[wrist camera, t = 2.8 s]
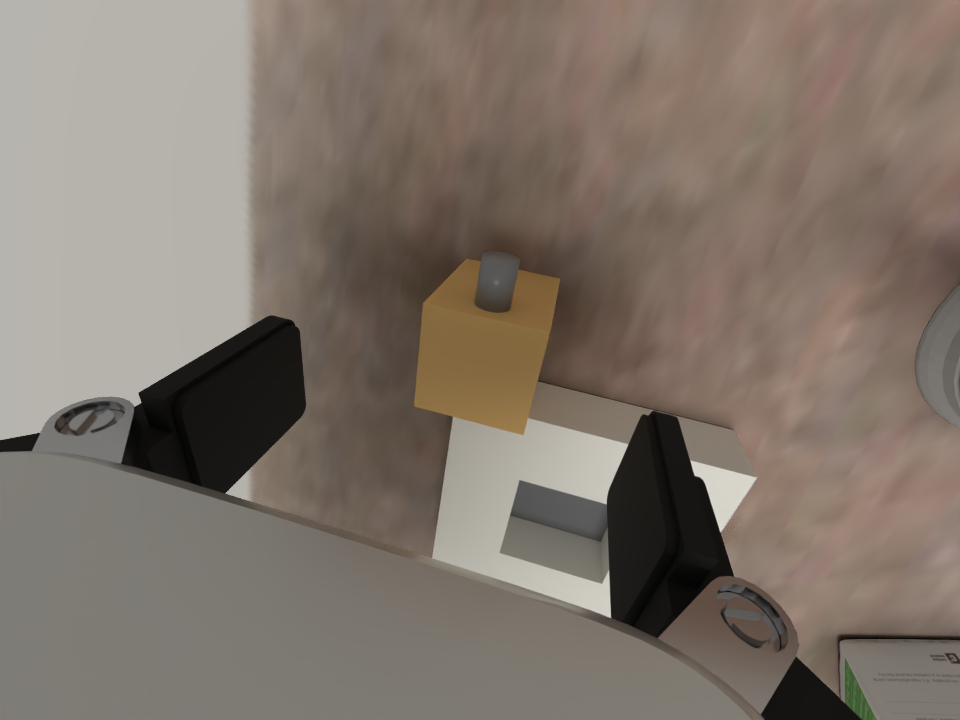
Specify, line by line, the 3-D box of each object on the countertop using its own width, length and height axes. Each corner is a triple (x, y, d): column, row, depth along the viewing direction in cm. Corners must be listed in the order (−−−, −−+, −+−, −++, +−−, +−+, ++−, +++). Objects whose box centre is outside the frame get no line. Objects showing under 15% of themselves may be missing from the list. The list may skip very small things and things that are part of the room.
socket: (641, 588, 25) (648, 642, 22) (445, 529, 26) (430, 573, 23) (733, 430, 19) (757, 477, 16) (472, 365, 20) (455, 399, 18)
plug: (539, 361, 19) (523, 435, 15) (455, 341, 20) (413, 406, 15) (570, 239, 17) (563, 281, 12) (472, 219, 17) (427, 252, 12)
